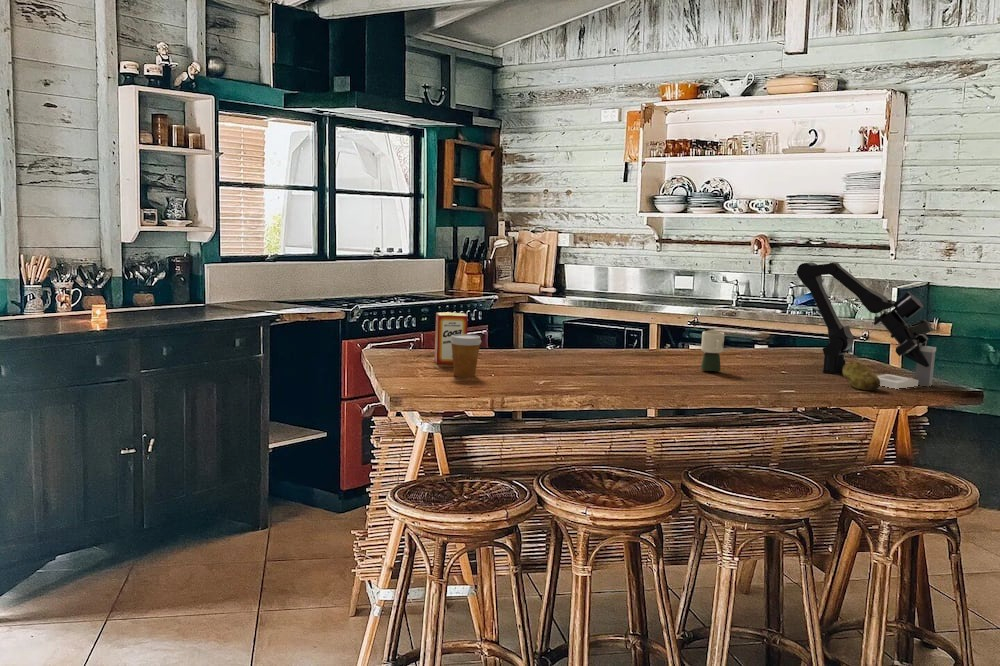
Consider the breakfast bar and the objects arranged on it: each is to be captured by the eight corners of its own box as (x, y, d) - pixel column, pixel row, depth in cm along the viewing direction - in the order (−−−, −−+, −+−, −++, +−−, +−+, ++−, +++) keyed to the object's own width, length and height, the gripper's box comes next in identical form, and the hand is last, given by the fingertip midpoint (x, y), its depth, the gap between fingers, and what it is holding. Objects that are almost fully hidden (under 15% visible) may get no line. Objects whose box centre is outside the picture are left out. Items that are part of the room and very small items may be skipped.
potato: (856, 392, 298) (858, 366, 297) (837, 383, 311) (839, 358, 310) (882, 392, 299) (884, 366, 298) (862, 384, 312) (864, 359, 311)
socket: (866, 383, 314) (867, 374, 314) (887, 380, 320) (888, 372, 320) (896, 389, 305) (897, 381, 305) (917, 387, 311) (918, 378, 311)
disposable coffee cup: (473, 372, 304) (475, 333, 302) (484, 378, 295) (486, 338, 293) (444, 372, 300) (446, 334, 299) (454, 378, 292) (455, 339, 290)
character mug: (726, 375, 318) (729, 335, 316) (705, 374, 317) (708, 334, 315) (715, 368, 328) (718, 330, 326) (694, 368, 327) (697, 329, 326)
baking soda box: (463, 360, 324) (464, 312, 321) (465, 363, 317) (467, 314, 315) (434, 360, 322) (436, 311, 320) (436, 363, 316) (438, 314, 313)
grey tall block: (913, 385, 314) (917, 346, 312) (917, 383, 318) (921, 345, 316) (928, 387, 311) (932, 348, 309) (932, 385, 315) (936, 347, 313)
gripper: (910, 313, 306) (944, 353, 301) (924, 309, 321) (957, 347, 316) (881, 335, 311) (914, 375, 307) (897, 330, 326) (928, 367, 322)
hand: (929, 365), depth 313 cm, fingers closed on grey tall block, 4 cm apart
